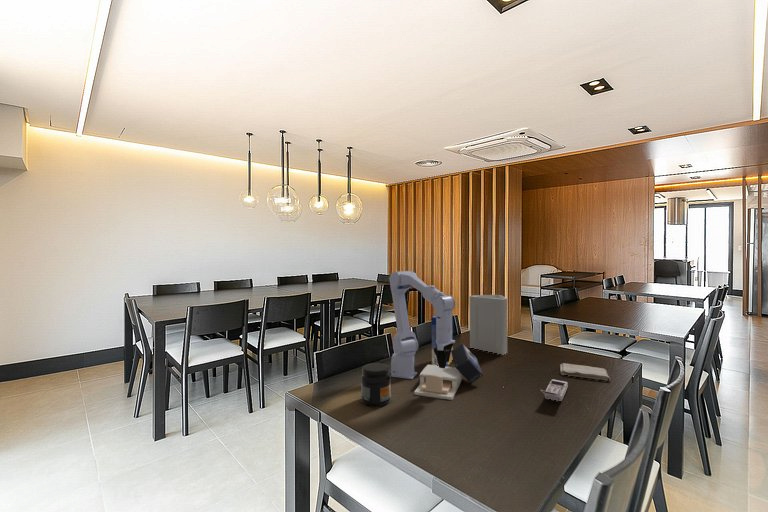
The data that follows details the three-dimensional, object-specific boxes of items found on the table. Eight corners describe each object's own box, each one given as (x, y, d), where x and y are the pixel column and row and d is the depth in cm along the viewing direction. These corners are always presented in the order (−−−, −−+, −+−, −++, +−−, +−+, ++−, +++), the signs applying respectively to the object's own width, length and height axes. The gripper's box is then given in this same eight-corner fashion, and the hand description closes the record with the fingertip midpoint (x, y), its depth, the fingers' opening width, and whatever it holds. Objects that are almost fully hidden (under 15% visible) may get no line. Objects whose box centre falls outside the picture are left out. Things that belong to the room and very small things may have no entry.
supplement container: (397, 400, 126) (396, 366, 125) (375, 410, 118) (375, 374, 118) (376, 392, 133) (376, 360, 133) (354, 401, 126) (354, 367, 125)
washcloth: (559, 368, 160) (559, 361, 160) (606, 373, 152) (606, 366, 152) (560, 376, 149) (560, 369, 149) (610, 383, 142) (610, 375, 142)
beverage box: (453, 360, 171) (452, 314, 170) (446, 367, 161) (445, 318, 161) (439, 358, 174) (439, 313, 174) (431, 365, 164) (431, 317, 164)
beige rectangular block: (420, 389, 132) (420, 374, 132) (431, 375, 147) (431, 361, 147) (447, 393, 128) (447, 378, 128) (455, 378, 143) (455, 364, 143)
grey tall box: (515, 349, 189) (515, 296, 188) (503, 355, 178) (503, 299, 178) (482, 343, 202) (482, 293, 201) (469, 348, 191) (469, 296, 191)
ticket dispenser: (414, 394, 131) (414, 380, 131) (427, 376, 150) (427, 364, 150) (452, 400, 126) (452, 385, 126) (461, 380, 145) (461, 368, 144)
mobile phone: (539, 389, 120) (552, 368, 141) (539, 407, 120) (552, 383, 141) (559, 394, 117) (569, 371, 137) (558, 411, 117) (569, 386, 138)
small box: (484, 375, 139) (468, 359, 136) (470, 384, 141) (454, 368, 138) (477, 357, 149) (462, 342, 146) (465, 366, 151) (449, 351, 148)
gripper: (451, 333, 124) (451, 372, 124) (457, 325, 138) (458, 359, 138) (431, 331, 127) (431, 369, 127) (439, 323, 140) (439, 358, 141)
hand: (444, 364), depth 133 cm, fingers open, 7 cm apart
